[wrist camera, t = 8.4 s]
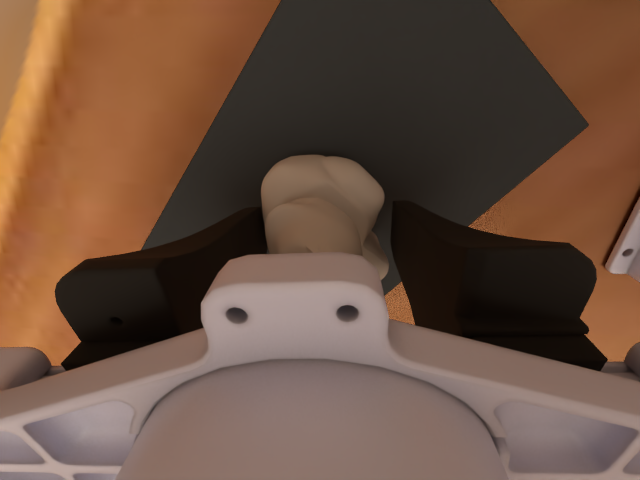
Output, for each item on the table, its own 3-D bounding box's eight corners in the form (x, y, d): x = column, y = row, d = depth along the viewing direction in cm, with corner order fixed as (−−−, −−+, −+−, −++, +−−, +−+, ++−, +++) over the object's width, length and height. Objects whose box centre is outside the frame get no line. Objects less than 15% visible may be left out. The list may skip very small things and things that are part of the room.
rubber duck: (317, 111, 13) (297, 160, 6) (412, 208, 15) (481, 328, 8) (244, 196, 15) (167, 304, 8) (337, 270, 17) (339, 407, 10)
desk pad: (311, 344, 22) (310, 358, 21) (145, 250, 18) (134, 260, 17) (571, 120, 14) (590, 125, 13) (364, -133, 10) (367, -156, 9)
